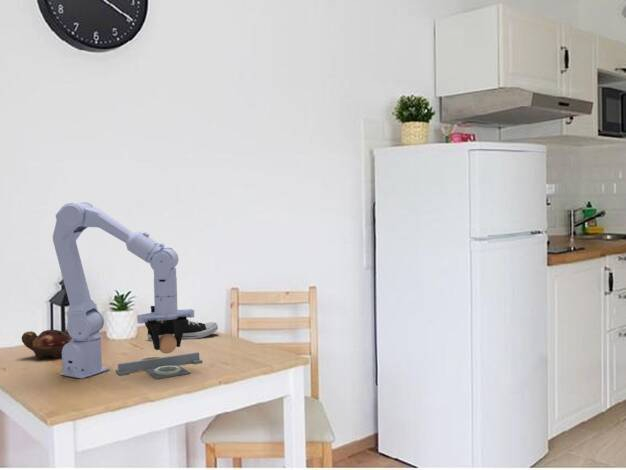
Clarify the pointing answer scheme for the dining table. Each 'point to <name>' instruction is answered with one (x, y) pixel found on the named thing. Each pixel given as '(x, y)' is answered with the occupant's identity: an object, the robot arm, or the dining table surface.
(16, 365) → the dining table surface
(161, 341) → the ball
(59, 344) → the decorative turtle
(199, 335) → the sneaker
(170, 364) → the grey long bar
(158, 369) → the pad
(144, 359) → the ring
